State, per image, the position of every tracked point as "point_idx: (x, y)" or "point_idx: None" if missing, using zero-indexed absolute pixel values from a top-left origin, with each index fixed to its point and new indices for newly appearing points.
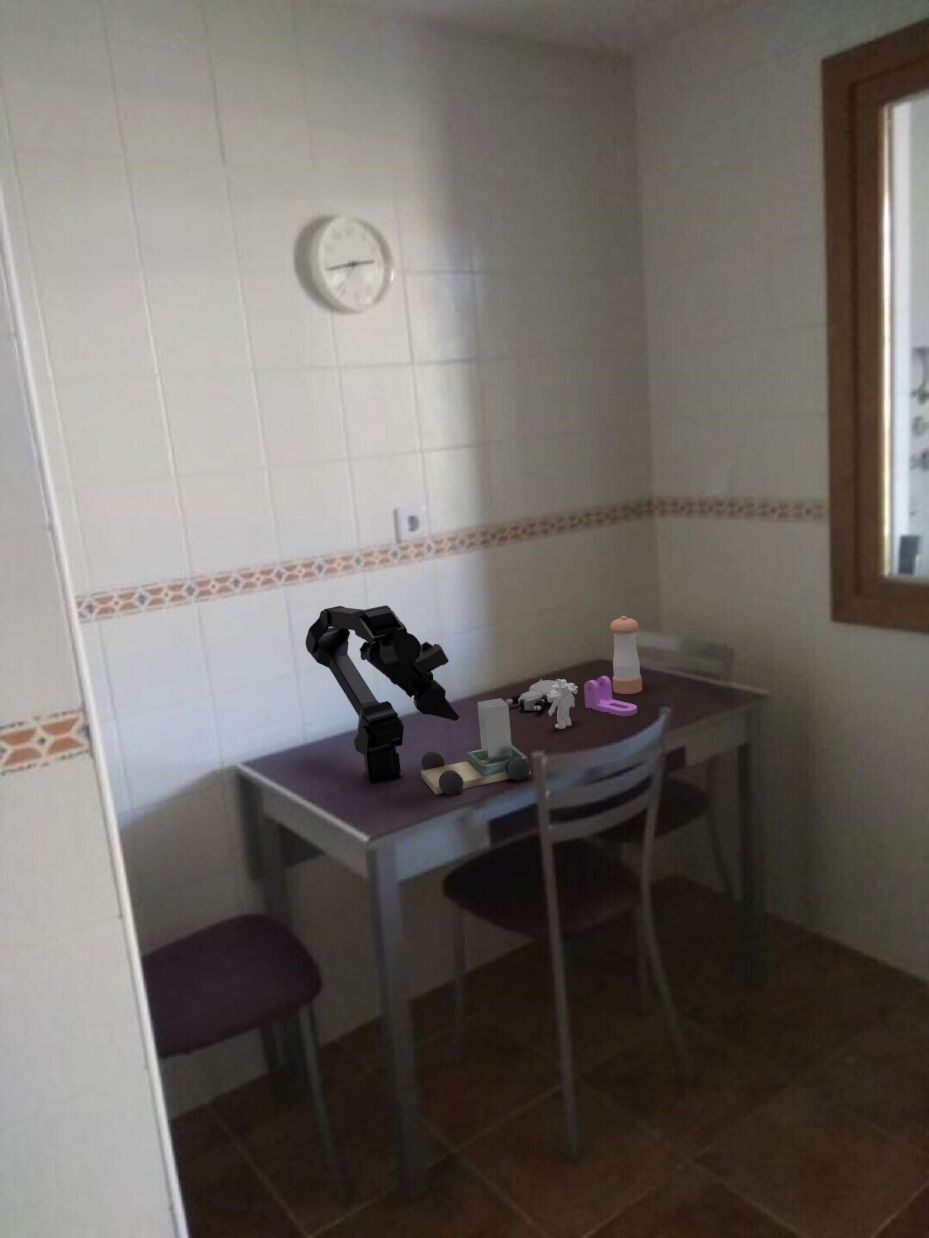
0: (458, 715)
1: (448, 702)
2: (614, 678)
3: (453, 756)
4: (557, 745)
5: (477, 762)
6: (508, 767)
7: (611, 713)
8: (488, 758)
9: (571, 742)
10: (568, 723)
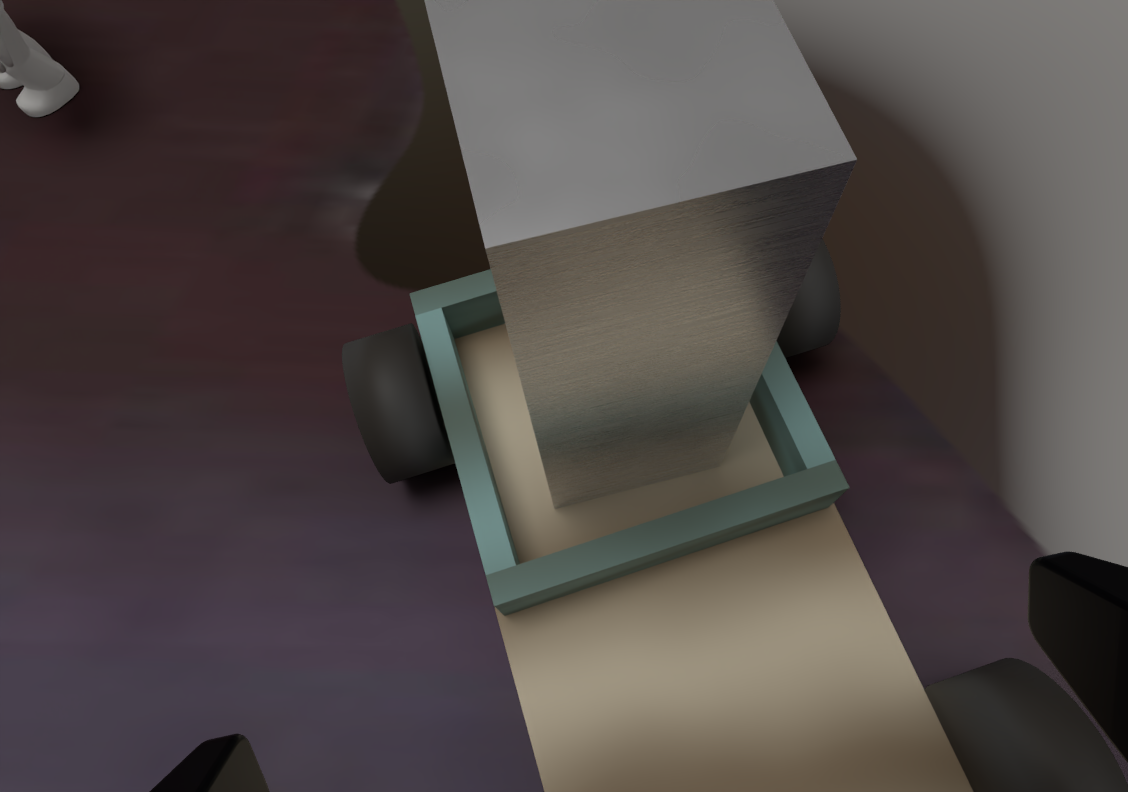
0: (1103, 560)
1: (227, 759)
2: None
3: None
4: (311, 123)
5: (726, 529)
6: (819, 328)
7: None
8: (728, 437)
9: (297, 66)
10: (43, 53)
